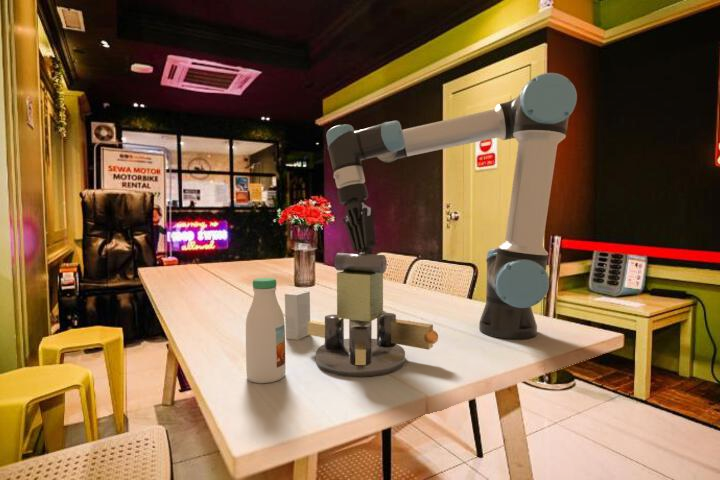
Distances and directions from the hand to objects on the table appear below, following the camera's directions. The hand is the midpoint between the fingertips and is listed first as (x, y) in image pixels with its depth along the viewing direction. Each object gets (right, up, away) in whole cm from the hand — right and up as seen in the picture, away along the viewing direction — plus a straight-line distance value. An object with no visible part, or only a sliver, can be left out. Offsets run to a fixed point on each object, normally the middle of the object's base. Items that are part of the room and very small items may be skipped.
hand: (370, 276), depth 107 cm
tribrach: (-5, -18, -12) cm, 22 cm away
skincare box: (-19, -17, +7) cm, 27 cm away
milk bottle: (-22, -19, -21) cm, 35 cm away
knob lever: (+8, -15, -11) cm, 20 cm away
